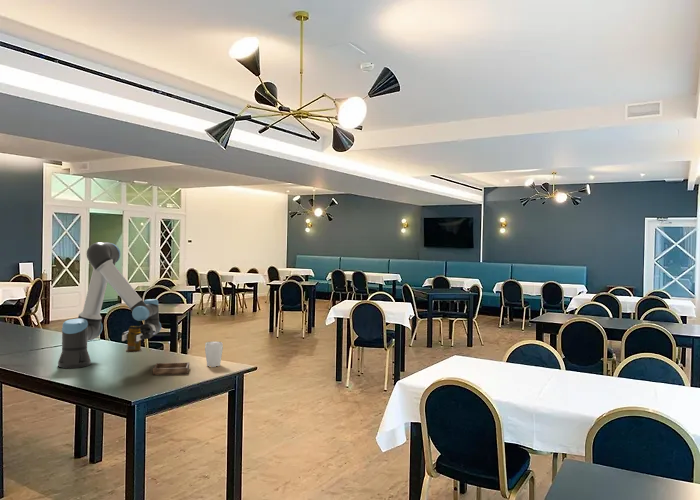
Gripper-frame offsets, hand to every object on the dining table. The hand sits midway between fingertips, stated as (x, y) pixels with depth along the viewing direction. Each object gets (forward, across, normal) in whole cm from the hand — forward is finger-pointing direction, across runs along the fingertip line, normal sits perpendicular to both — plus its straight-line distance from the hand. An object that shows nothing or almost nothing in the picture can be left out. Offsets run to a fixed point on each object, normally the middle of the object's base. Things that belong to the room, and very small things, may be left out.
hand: (130, 338), depth 265 cm
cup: (-22, -36, -18) cm, 46 cm away
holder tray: (-8, -18, -18) cm, 26 cm away
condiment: (-5, 0, -7) cm, 9 cm away
